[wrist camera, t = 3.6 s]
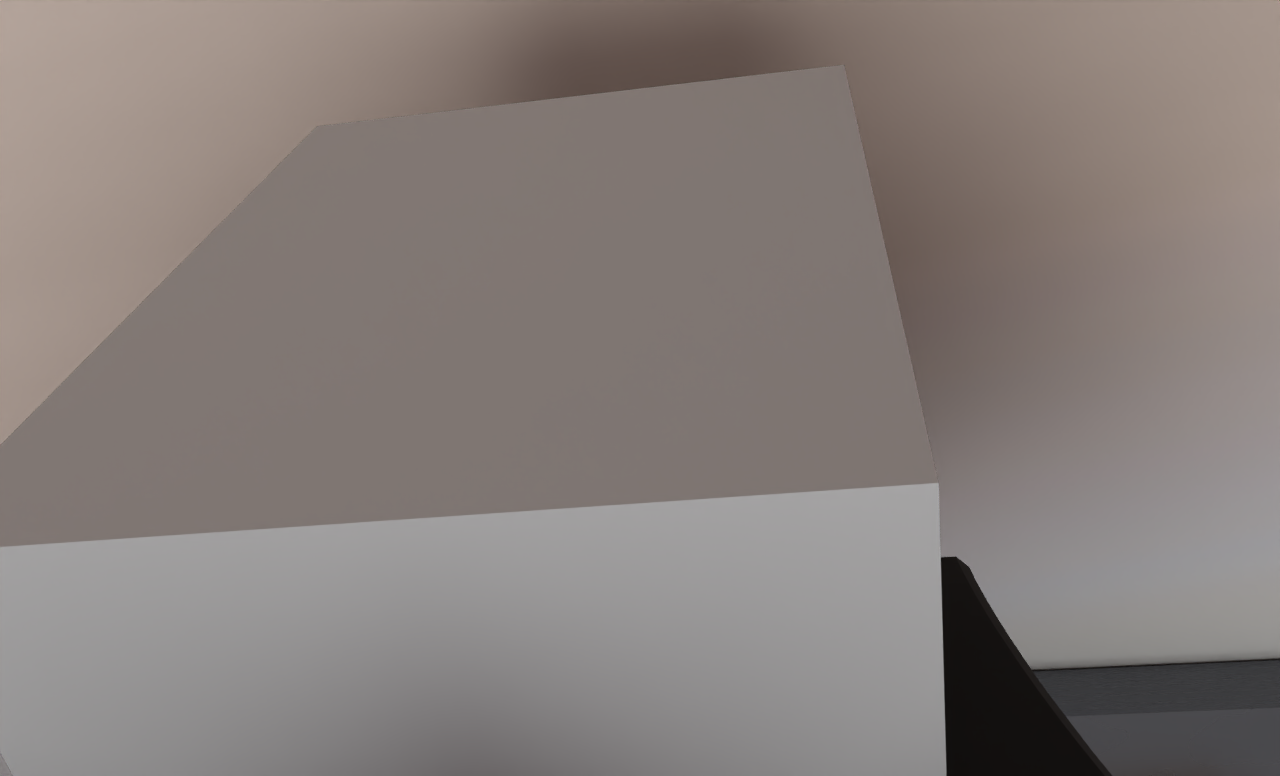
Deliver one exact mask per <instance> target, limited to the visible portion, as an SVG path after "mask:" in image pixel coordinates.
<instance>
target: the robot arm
mask: <svg viewBox="0 0 1280 776" xmlns="http://www.w3.org/2000/svg"><path fill="white" fill-rule="evenodd" d="M941 588H942V626H943V664H944V701H945V739H946V776H1112V775H1111V773H1110V772H1109V771H1108V770H1107V768H1106V767H1105V766H1104V765H1103V764H1102V762H1101V761H1100V760H1099V759H1098V757H1097V756H1096V755H1095V754H1094V753H1093V751H1092V750H1091V749H1090V747H1089V746H1088V745H1087V743H1086V742H1085V741H1084V740H1083V738H1082V737H1081V736H1080V734H1079V733H1078V732H1077V730H1076V729H1075V728H1074V726H1073V725H1072V724H1071V722H1070V721H1069V720H1068V719H1067V717H1066V716H1065V715H1064V713H1063V712H1062V711H1061V709H1060V708H1059V707H1058V705H1057V704H1056V703H1055V701H1054V700H1053V699H1052V698H1051V696H1050V695H1049V694H1048V692H1047V691H1046V689H1045V688H1044V687H1043V685H1042V684H1041V682H1040V681H1039V680H1038V678H1037V677H1036V675H1035V674H1034V673H1033V671H1032V670H1031V668H1030V667H1029V665H1028V664H1027V662H1026V661H1025V660H1024V658H1023V657H1022V655H1021V654H1020V652H1019V651H1018V649H1017V648H1016V646H1015V645H1014V643H1013V642H1012V640H1011V639H1010V637H1009V636H1008V634H1007V633H1006V631H1005V629H1004V628H1003V626H1002V625H1001V623H1000V621H999V620H998V618H997V617H996V615H995V613H994V612H993V610H992V608H991V607H990V605H989V603H988V602H987V600H986V598H985V596H984V595H983V593H982V591H981V589H980V587H979V586H978V584H977V582H976V580H975V578H974V576H973V574H972V572H971V570H970V568H969V567H968V566H967V565H966V564H964V563H963V562H962V561H961V560H959V559H958V558H957V557H941Z"/></svg>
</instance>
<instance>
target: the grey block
mask: <svg viewBox="0 0 1280 776" xmlns="http://www.w3.org/2000/svg"><path fill="white" fill-rule="evenodd" d="M0 753H1V755H2V757H3V759H4V761H5V762H6V764H7V766H8V768H9V770H10V772H11V773H12V775H13V776H946V739H945V701H944V664H943V626H942V588H941V551H940V513H939V482H938V478H937V473H936V469H935V464H934V460H933V456H932V451H931V447H930V442H929V438H928V433H927V429H926V425H925V420H924V416H923V411H922V407H921V402H920V398H919V394H918V389H917V385H916V380H915V376H914V371H913V367H912V363H911V358H910V354H909V349H908V345H907V340H906V336H905V332H904V327H903V323H902V318H901V314H900V309H899V305H898V301H897V296H896V292H895V287H894V283H893V278H892V274H891V270H890V265H889V261H888V256H887V252H886V247H885V243H884V239H883V234H882V230H881V225H880V221H879V216H878V212H877V208H876V203H875V199H874V194H873V190H872V185H871V181H870V177H869V172H868V168H867V163H866V159H865V154H864V150H863V146H862V141H861V137H860V132H859V128H858V123H857V119H856V115H855V110H854V106H853V101H852V97H851V92H850V88H849V84H848V79H847V75H846V70H845V66H844V65H837V66H829V67H820V68H812V69H803V70H795V71H786V72H777V73H769V74H760V75H752V76H743V77H735V78H726V79H718V80H709V81H700V82H692V83H683V84H675V85H666V86H658V87H649V88H640V89H632V90H623V91H615V92H606V93H598V94H589V95H581V96H572V97H563V98H555V99H546V100H538V101H529V102H521V103H512V104H504V105H495V106H486V107H478V108H469V109H461V110H452V111H444V112H435V113H426V114H418V115H409V116H401V117H392V118H384V119H375V120H367V121H358V122H349V123H341V124H332V125H324V126H317V127H316V128H315V129H314V130H313V131H312V132H311V133H310V134H309V135H308V136H307V137H306V138H305V139H304V140H303V141H302V142H301V143H300V144H299V145H298V146H297V147H296V148H295V149H294V150H293V151H292V152H291V153H290V154H289V155H288V156H287V157H286V158H285V159H284V160H283V161H282V162H281V163H280V164H279V165H278V166H277V167H276V168H275V169H274V170H273V171H272V172H271V173H270V174H269V175H268V176H267V177H266V178H265V179H264V180H263V181H262V182H261V183H260V184H259V185H258V186H257V187H256V188H255V189H254V190H253V191H252V192H251V193H250V194H249V195H248V196H247V197H246V198H245V199H244V200H243V201H242V202H241V203H240V204H239V205H238V206H237V207H236V208H235V209H234V210H233V211H232V212H231V213H230V214H229V215H228V216H227V217H226V218H225V219H224V220H223V221H222V222H221V223H220V224H219V225H218V226H217V227H216V228H215V229H214V230H213V231H212V232H211V233H210V234H209V235H208V236H207V237H206V238H205V239H204V240H203V241H202V242H201V243H200V244H199V245H198V246H197V247H196V248H195V249H194V251H193V252H192V253H191V254H190V255H189V256H188V257H187V258H186V259H185V260H184V261H183V262H182V263H181V264H180V265H179V266H178V267H177V268H176V269H175V270H174V271H173V272H172V273H171V274H170V275H169V276H168V277H167V278H166V279H165V280H164V281H163V282H162V283H161V284H160V285H159V286H158V287H157V288H156V289H155V290H154V291H153V292H152V293H151V294H150V295H149V296H148V297H147V298H146V299H145V300H144V301H143V302H142V303H141V304H140V305H139V306H138V307H137V308H136V309H135V310H134V311H133V312H132V313H131V314H130V315H129V316H128V317H127V318H126V319H125V320H124V321H123V322H122V323H121V324H120V325H119V326H118V327H117V328H116V329H115V330H114V331H113V332H112V333H111V334H110V335H109V336H108V337H107V338H106V339H105V340H104V341H103V342H102V343H101V344H100V345H99V346H98V347H97V348H96V349H95V350H94V351H93V352H92V353H91V354H90V355H89V356H88V357H87V358H86V359H85V360H84V361H83V362H82V363H81V364H80V365H79V366H78V367H77V368H76V369H75V370H74V371H73V372H72V373H71V374H70V375H69V377H68V378H67V379H66V380H65V381H64V382H63V383H62V384H61V385H60V386H59V387H58V388H57V389H56V390H55V391H54V392H53V393H52V394H51V395H50V396H49V397H48V398H47V399H46V400H45V401H44V402H43V403H42V404H41V405H40V406H39V407H38V408H37V409H36V410H35V411H34V412H33V413H32V414H31V415H30V416H29V417H28V418H27V419H26V420H25V421H24V422H23V423H22V424H21V425H20V426H19V427H18V428H17V429H16V430H15V431H14V432H13V433H12V434H11V435H10V436H9V437H8V438H7V439H6V440H5V441H4V442H3V443H2V444H1V445H0Z"/></svg>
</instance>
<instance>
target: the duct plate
mask: <svg viewBox="0 0 1280 776" xmlns="http://www.w3.org/2000/svg"><path fill="white" fill-rule="evenodd" d="M1033 673H1034V674H1035V675H1036V677H1037V678H1038V680H1039V681H1040V682H1041V684H1042V685H1043V687H1044V688H1045V689H1046V691H1047V692H1048V694H1049V695H1050V696H1051V698H1052V699H1053V700H1054V701H1055V703H1056V704H1057V705H1058V707H1059V708H1060V709H1061V711H1062V712H1063V713H1064V715H1065V716H1066V717H1067V719H1068V720H1069V721H1070V722H1071V724H1072V725H1073V726H1074V728H1075V729H1076V730H1077V732H1078V733H1079V734H1080V736H1081V737H1082V738H1083V740H1084V741H1085V742H1086V743H1087V745H1088V746H1089V747H1090V749H1091V750H1092V751H1093V753H1094V754H1095V755H1096V756H1097V757H1098V759H1099V760H1100V761H1101V762H1102V764H1103V765H1104V766H1105V767H1106V768H1107V770H1108V771H1109V772H1110V773H1111V775H1112V776H1280V660H1272V661H1250V662H1229V663H1207V664H1186V665H1164V666H1142V667H1121V668H1099V669H1078V670H1056V671H1035V672H1033Z"/></svg>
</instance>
